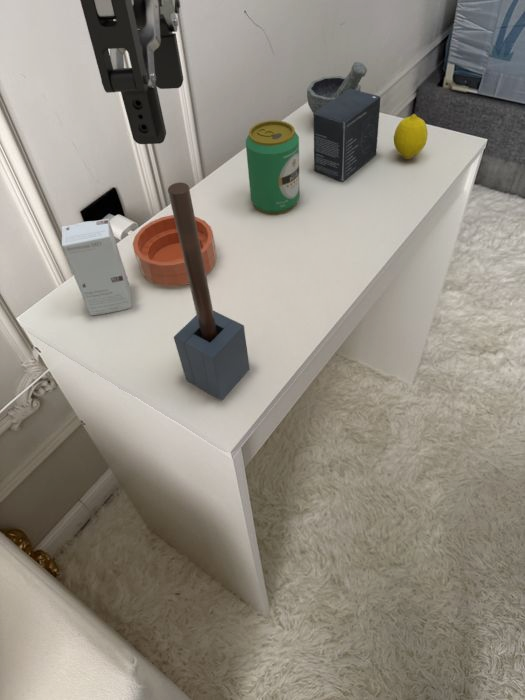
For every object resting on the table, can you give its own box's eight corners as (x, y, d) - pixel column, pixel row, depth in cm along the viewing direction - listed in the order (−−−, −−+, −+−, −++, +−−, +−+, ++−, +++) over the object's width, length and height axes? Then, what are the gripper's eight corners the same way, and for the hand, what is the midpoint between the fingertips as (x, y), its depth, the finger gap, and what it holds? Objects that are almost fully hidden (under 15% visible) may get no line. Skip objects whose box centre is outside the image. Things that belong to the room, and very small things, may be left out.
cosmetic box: (90, 317, 72) (58, 247, 62) (89, 295, 75) (59, 225, 65) (135, 308, 72) (109, 237, 63) (132, 286, 75) (108, 216, 66)
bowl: (133, 289, 75) (125, 265, 71) (148, 239, 82) (141, 215, 79) (212, 288, 74) (207, 264, 70) (220, 237, 81) (216, 213, 78)
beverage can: (280, 221, 83) (277, 150, 74) (241, 205, 86) (233, 136, 77) (309, 196, 87) (309, 126, 78) (270, 182, 90) (266, 113, 81)
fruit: (424, 151, 94) (432, 106, 87) (421, 167, 90) (430, 122, 84) (393, 148, 95) (399, 104, 89) (389, 164, 91) (395, 120, 85)
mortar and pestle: (297, 127, 102) (297, 62, 93) (323, 108, 106) (325, 43, 97) (348, 142, 97) (352, 75, 88) (373, 121, 102) (379, 55, 92)
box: (346, 144, 97) (350, 86, 89) (377, 155, 94) (383, 96, 86) (311, 170, 92) (312, 111, 84) (342, 182, 89) (346, 122, 81)
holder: (185, 380, 64) (173, 336, 58) (214, 350, 66) (205, 306, 60) (221, 401, 61) (212, 358, 55) (249, 369, 64) (244, 325, 58)
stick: (209, 380, 63) (166, 194, 44) (211, 369, 65) (169, 182, 45) (224, 380, 63) (187, 193, 43) (226, 368, 64) (190, 181, 45)
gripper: (63, -207, 32) (131, 74, 44) (-32, -179, 22) (88, 165, 35) (186, -218, 31) (220, 69, 43) (139, -194, 22) (199, 161, 34)
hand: (161, 112), depth 39 cm, fingers open, 8 cm apart
